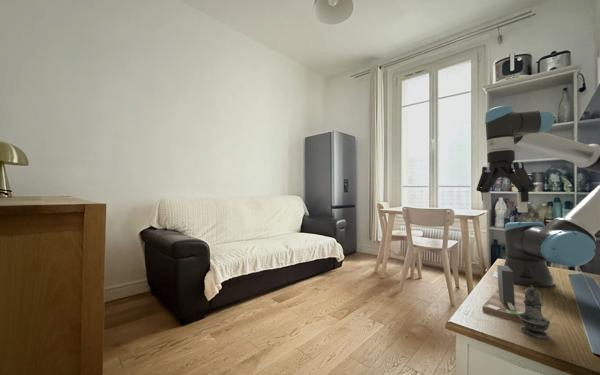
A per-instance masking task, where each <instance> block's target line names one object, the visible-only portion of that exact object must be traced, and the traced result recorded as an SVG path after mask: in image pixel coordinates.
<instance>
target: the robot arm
mask: <svg viewBox="0 0 600 375" xmlns="http://www.w3.org/2000/svg"><path fill="white" fill-rule="evenodd" d="M554 118H555V116H554V114H553V113H552V112H551V111H548V110H534V111H532V110H531V111H520V112H519V111H518V112H517V111H515V112H514V110H513V107H512V106H511V105H500V106H499V105H498V106H496V107H492V108H490V109H488V110H487V111H486V112H485V122H484V125H485V136H486V149H487V150H486V151H487V152H488V153H487V158H486V159H487V163H489V166H482V168H481V174H480V178H479V180H478V183H477V186H476V192H480V193H481V201H482V210H483V211H488V210H489V211H490V210H492V195H491V194H492V193H491V192H490V190H491V188H492V187H493V185H494V184H495V182H497V179H499V178H506V179H508V180H509V182H510V183H511V184H512V185H513V186H514V187H515V188H516V189H517V192H516V203H517V205H516V206H517V213H528V203H529V202H530V199H529V195H530V194H529V192H530V191H533V190H536V186H535V185H534V183H533V181H532V179H531V178H530V176H529V174H528V173H527V171H526V169H525V165H524V162H523V161H522V162H521V161H520V162H515V160H516V158H515V157H516V155H515V150H514V149H515V146H517V147H520V148H523V149H527V150H529V151H533V152H537V153H540V154H542V155H547V156H549V157H550V156H551V157H553V158H556V159H560V160H563V161H568V162H570V163H573V164H574V166H576V167H577V168H581V169H583V170H587V171H591V172H594V173H599V174H600V144H597V143H590V144H588V143H587V144H586V143H582V142H579V141H576V140H572V139H568V138H564V137H561V136H558V135H554V134H551V133H548V131H549V130H550V129H552V127H553V126H554V123H555V119H554ZM599 231H600V183H599V184H598V185H596V187H595V188H594V189H593V190H591V191H590V192H589V193H587V195H586V196H585V197H584V198H583V199H582V200H581V201H579V202H578V203H577V204H576V205H575V206H573V208H572V209H571V210H570V211H569V212H567V213H566V214H565V215H564V216H563V217H556V218H555V217H554V218H553V219H552V220H551V221H550V222H549V223H547V225H545V224H544V222H542V221H527V222H526V221H524V222H521V221H520V222H519V221H517V222H507V223H505V225H504V240H505V241H504V242H505V255H506V256H505V261H504V264H503V266H508V267H509V268H510V269H511V270H512V271H513V280H514V284H518V285H524V286H529V287H530V286H531V285H532V286H533V287H537V288H545V287H547V288H548V287H553V286H554V284H555V283H554V276H553V275H552V274H551V272H550V269H549V267H548V264H547V262H550V263H552V264H555V265H558V266H564V267H569V268H570V267H580V266H583V265H586V264H587V263H589V262H590V261H592V259H593V258H594V256H595V255H596V252H595V250H596V242H597V238H596V235H595V234H597V233H598V232H599Z"/></svg>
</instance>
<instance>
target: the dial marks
mask: <svg viewBox="0 0 600 375" xmlns="http://www.w3.org/2000/svg"><path fill="white" fill-rule="evenodd" d="M486 307H489V308H491V309H494V310H499V309H501V308H499V307H496V306H493V305H487V306H486ZM506 311H507V313H508V314H515V315H518V314H520V313H523V312H519V311H512V310H506Z"/></svg>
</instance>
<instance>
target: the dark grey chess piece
mask: <svg viewBox="0 0 600 375" xmlns="http://www.w3.org/2000/svg"><path fill="white" fill-rule="evenodd" d="M524 294H525V300H524V301H523V302H524V303H525V312H524V313H520V314H518V316H519V318H520V320H521V322H520V323H521V324H522V325H523V326H522V327H520V329H519V330H520V332H521V333H523V334H525V335H527V336H529V337H530V338H535V339H538V340H548V339H550V335H549V334H548V333H547V332H545V331H547V330H548V328H549V326H550V324H551V321H550V320H549V319H547V318H546V317H544V316H543V313H542V307H543V304H542V303H541V293H540V291H539V290H538V289H536V288H535V287H534V286H532V285H531V286H529V287H527V288H525V289H524Z"/></svg>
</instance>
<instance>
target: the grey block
mask: <svg viewBox="0 0 600 375" xmlns="http://www.w3.org/2000/svg"><path fill="white" fill-rule="evenodd" d="M496 266H497V269H496V270H497V284H498V286H497V287H498V288H497V289H499V297H500V299H501V302H503V304H507V305H508V306H509V308H510V309H511V310H514V307H513V305H514V306H515V298H514V292H515V285H514V284H515V283H514V280H513V271H512V270H511V269H510V268H509V267H508V266H504V264H503V265H501V264H496Z"/></svg>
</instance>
